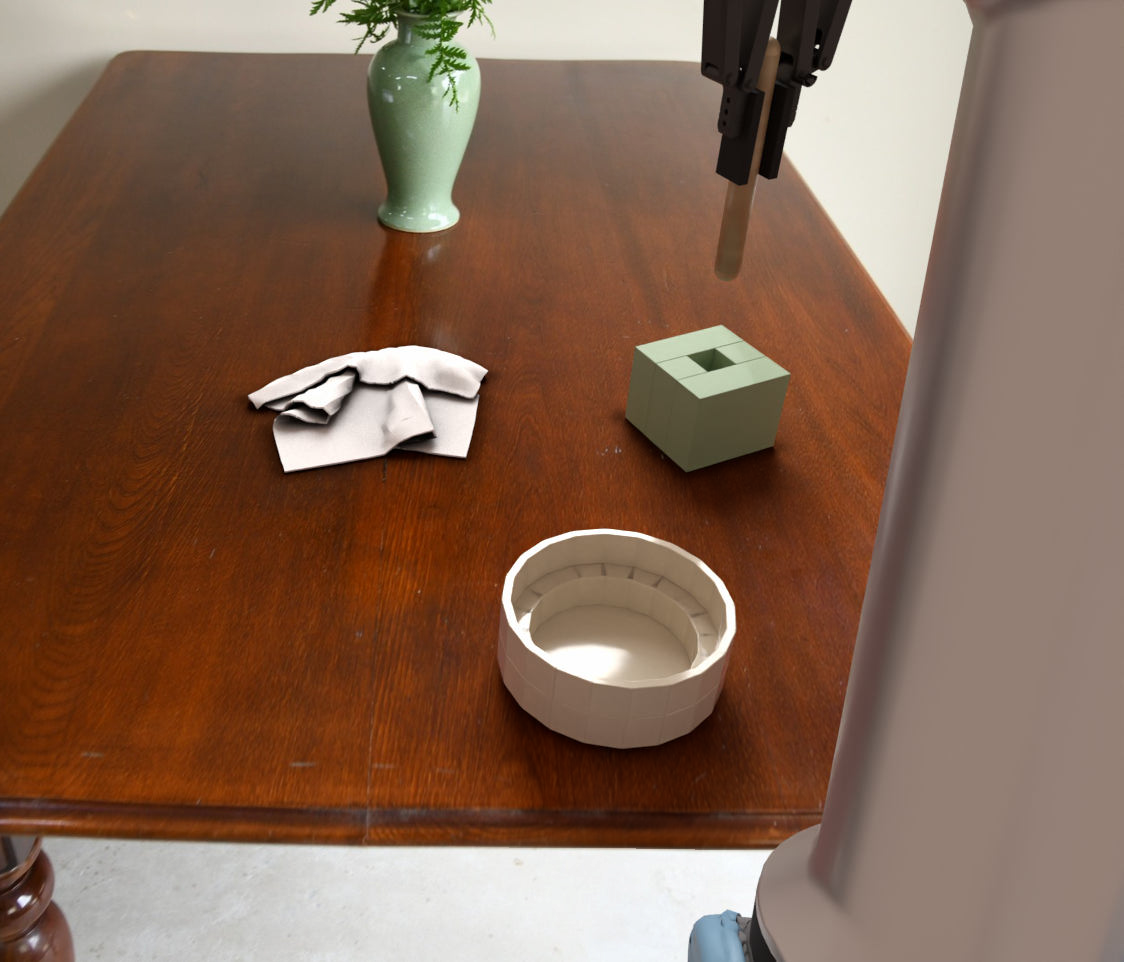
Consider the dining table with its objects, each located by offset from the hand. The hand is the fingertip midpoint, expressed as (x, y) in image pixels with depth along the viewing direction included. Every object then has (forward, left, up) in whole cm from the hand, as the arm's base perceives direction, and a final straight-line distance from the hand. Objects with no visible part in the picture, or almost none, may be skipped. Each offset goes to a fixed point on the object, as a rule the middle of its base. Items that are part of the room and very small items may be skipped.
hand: (746, 174), depth 81 cm
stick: (0, 0, -8) cm, 8 cm away
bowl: (-20, +22, -22) cm, 37 cm away
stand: (0, 0, -22) cm, 22 cm away
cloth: (+15, +24, -23) cm, 36 cm away
